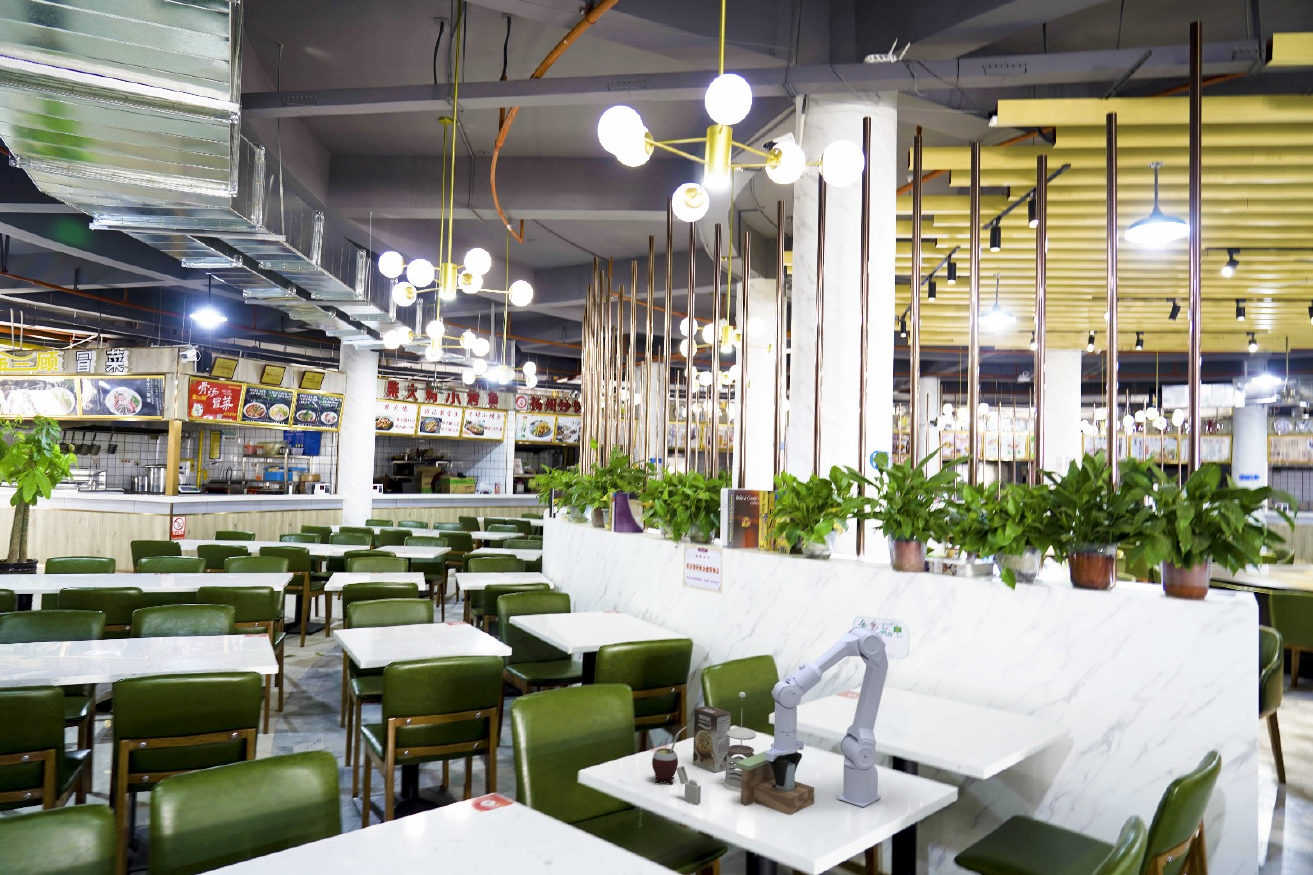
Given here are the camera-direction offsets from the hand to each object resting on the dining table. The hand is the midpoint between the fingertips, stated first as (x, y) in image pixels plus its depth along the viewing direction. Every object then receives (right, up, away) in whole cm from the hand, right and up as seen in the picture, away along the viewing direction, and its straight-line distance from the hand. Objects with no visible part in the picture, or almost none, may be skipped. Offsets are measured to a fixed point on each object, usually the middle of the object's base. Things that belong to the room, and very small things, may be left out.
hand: (784, 783), depth 214 cm
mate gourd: (-30, -5, +13) cm, 33 cm away
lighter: (-25, -4, 0) cm, 25 cm away
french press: (-11, -5, +11) cm, 17 cm away
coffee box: (-17, -6, +25) cm, 31 cm away
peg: (0, -2, 0) cm, 2 cm away
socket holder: (-1, -5, +1) cm, 5 cm away
